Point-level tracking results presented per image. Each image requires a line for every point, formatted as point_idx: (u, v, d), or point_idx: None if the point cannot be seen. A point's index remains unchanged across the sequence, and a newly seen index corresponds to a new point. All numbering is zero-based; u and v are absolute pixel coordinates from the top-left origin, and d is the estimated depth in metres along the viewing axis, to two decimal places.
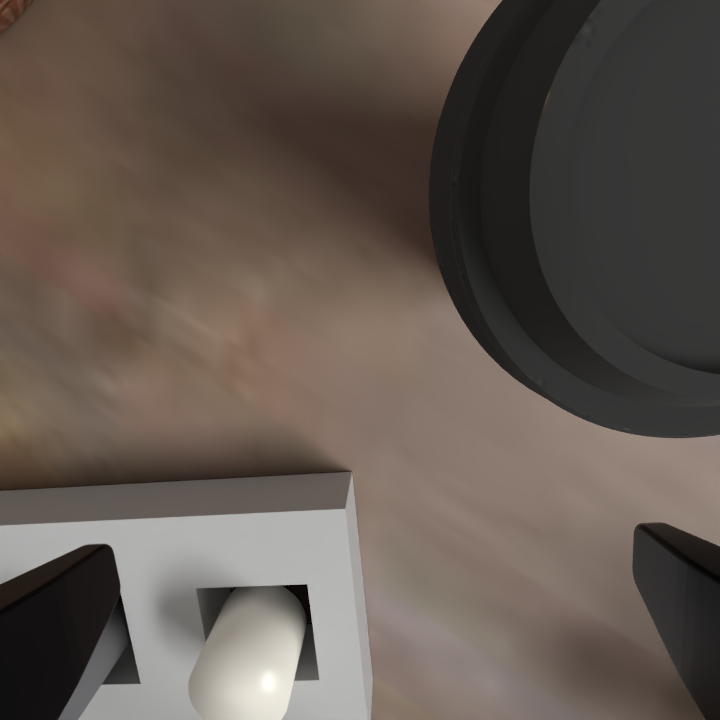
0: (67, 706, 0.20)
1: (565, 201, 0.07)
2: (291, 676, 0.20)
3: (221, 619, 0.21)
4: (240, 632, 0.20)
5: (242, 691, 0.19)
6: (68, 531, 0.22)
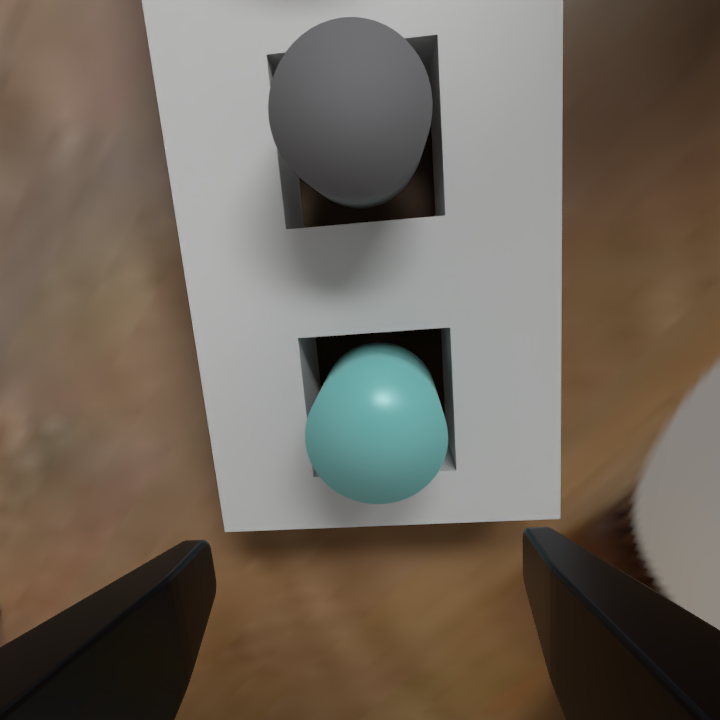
0: (364, 45, 0.12)
1: None
2: None
3: None
4: None
5: None
6: (176, 129, 0.15)
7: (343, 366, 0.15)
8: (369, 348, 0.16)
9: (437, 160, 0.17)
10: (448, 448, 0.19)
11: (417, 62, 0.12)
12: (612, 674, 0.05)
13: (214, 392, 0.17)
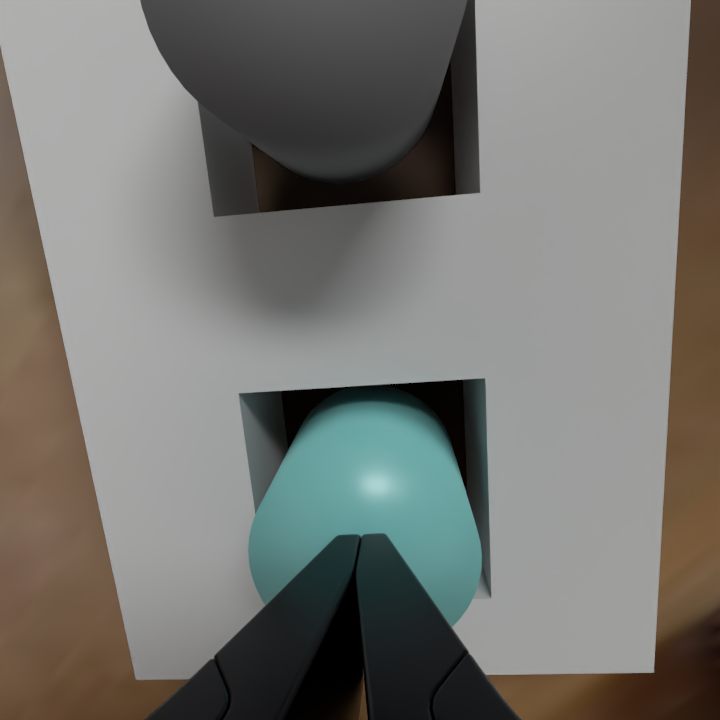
0: None
1: None
2: None
3: None
4: None
5: None
6: (24, 46, 0.09)
7: (314, 432, 0.10)
8: (356, 397, 0.11)
9: (463, 107, 0.10)
10: None
11: None
12: None
13: (110, 475, 0.11)
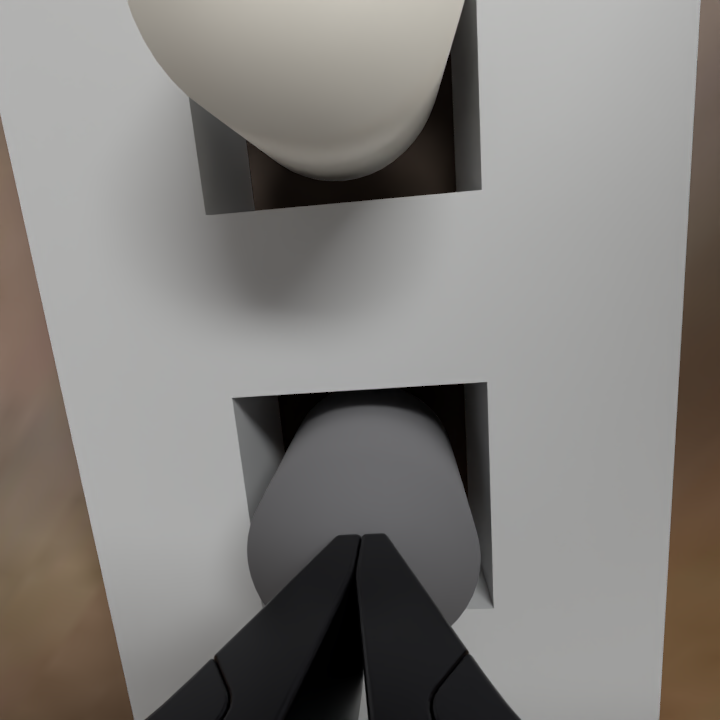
0: (383, 485, 0.08)
1: None
2: None
3: None
4: None
5: None
6: (103, 485, 0.10)
7: None
8: None
9: (477, 488, 0.12)
10: None
11: (460, 509, 0.08)
12: None
13: None
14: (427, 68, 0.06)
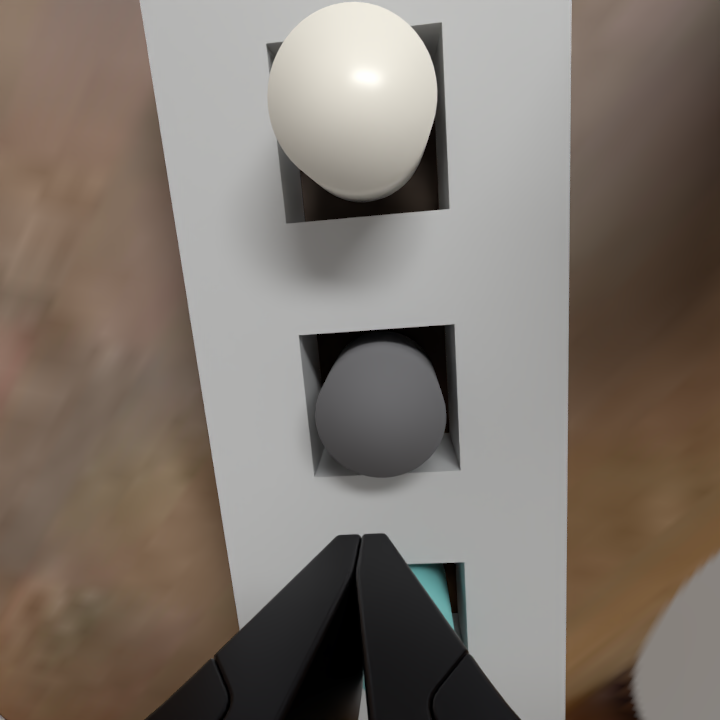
0: (392, 373, 0.15)
1: None
2: None
3: None
4: None
5: (347, 91, 0.12)
6: (215, 392, 0.17)
7: None
8: None
9: (452, 401, 0.18)
10: None
11: (434, 386, 0.15)
12: None
13: (246, 608, 0.19)
14: (414, 156, 0.12)
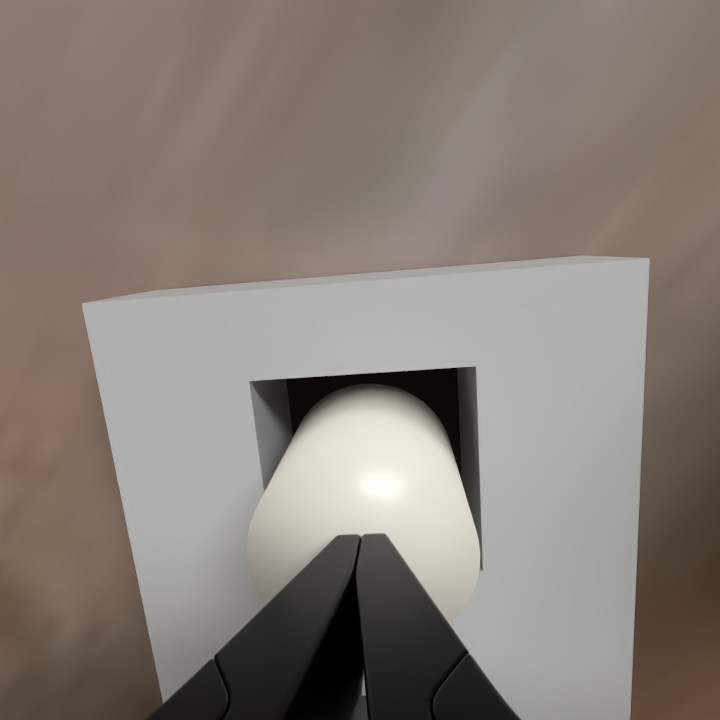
0: None
1: None
2: (348, 435, 0.09)
3: None
4: None
5: None
6: None
7: None
8: None
9: None
10: None
11: None
12: None
13: None
14: None
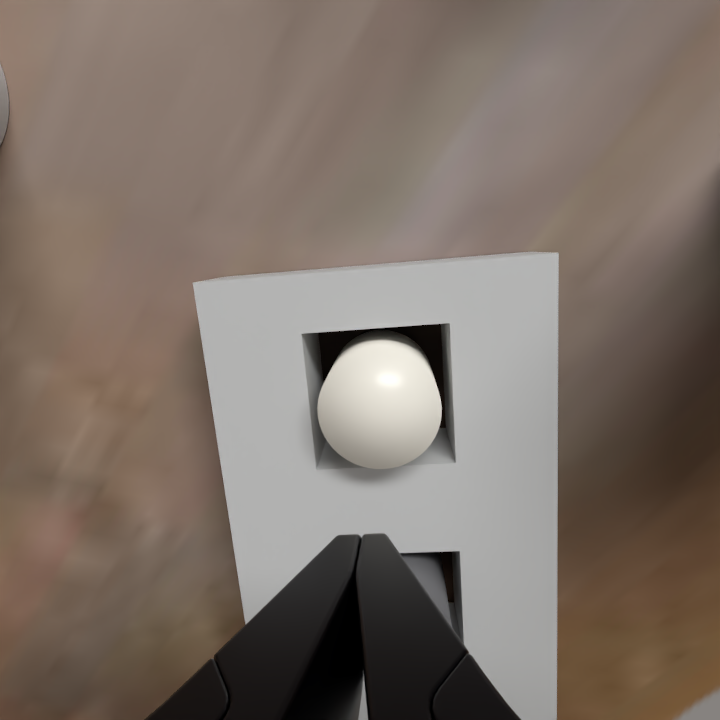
0: None
1: None
2: (371, 347, 0.16)
3: None
4: None
5: (376, 407, 0.16)
6: (252, 598, 0.19)
7: None
8: None
9: (457, 592, 0.21)
10: None
11: (443, 615, 0.17)
12: None
13: None
14: None
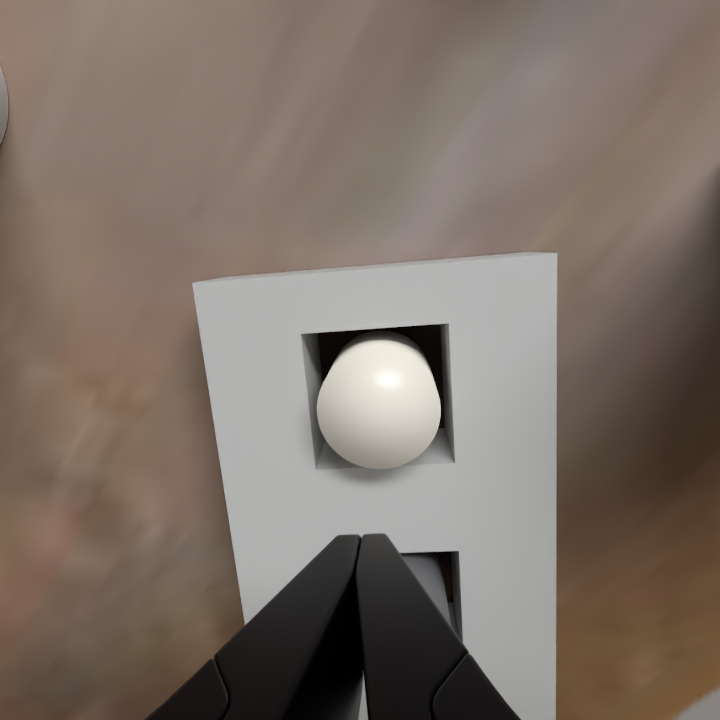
0: None
1: None
2: (371, 347, 0.16)
3: None
4: None
5: (375, 406, 0.16)
6: (252, 598, 0.19)
7: None
8: None
9: (456, 592, 0.21)
10: None
11: None
12: None
13: None
14: None
